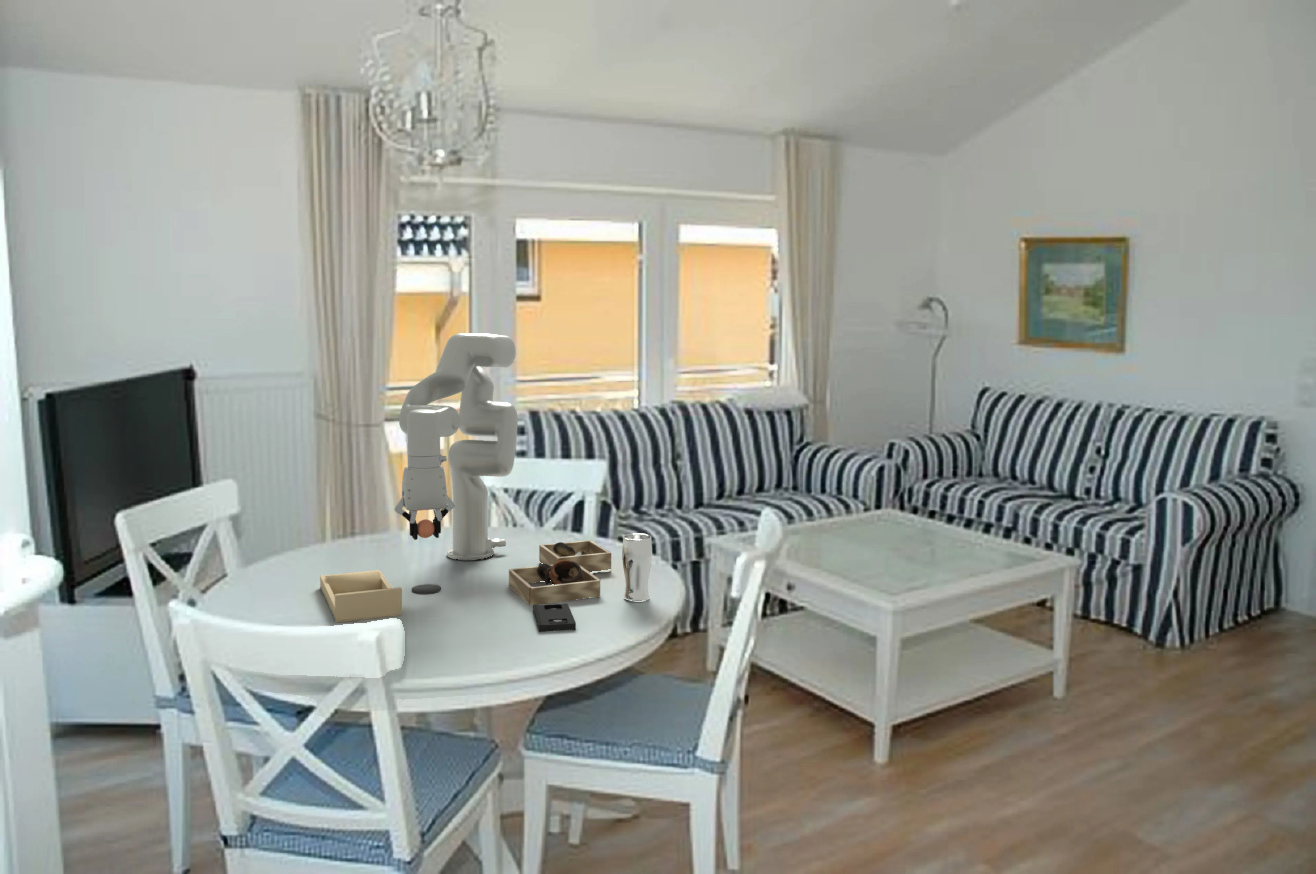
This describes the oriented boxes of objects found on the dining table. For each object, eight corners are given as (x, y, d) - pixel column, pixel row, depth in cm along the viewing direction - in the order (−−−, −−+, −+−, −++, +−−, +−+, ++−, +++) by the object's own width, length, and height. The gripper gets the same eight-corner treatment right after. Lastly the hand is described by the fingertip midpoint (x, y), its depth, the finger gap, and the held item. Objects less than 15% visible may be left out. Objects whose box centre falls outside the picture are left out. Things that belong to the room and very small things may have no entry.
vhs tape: (576, 632, 213) (576, 623, 213) (538, 634, 211) (538, 625, 211) (567, 611, 227) (567, 603, 227) (532, 613, 225) (532, 605, 225)
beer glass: (629, 604, 231) (630, 541, 229) (616, 596, 237) (617, 534, 235) (656, 601, 234) (657, 538, 232) (643, 593, 240) (644, 532, 238)
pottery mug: (586, 586, 247) (590, 562, 242) (573, 612, 240) (577, 588, 235) (540, 571, 249) (544, 547, 244) (526, 596, 241) (529, 572, 236)
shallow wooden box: (575, 577, 252) (575, 562, 252) (601, 597, 237) (601, 580, 236) (507, 585, 245) (507, 569, 244) (530, 605, 229) (530, 588, 229)
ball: (432, 534, 241) (432, 516, 240) (436, 539, 237) (436, 520, 236) (414, 536, 239) (413, 518, 238) (418, 540, 235) (417, 522, 234)
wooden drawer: (380, 597, 246) (379, 558, 245) (402, 632, 221) (401, 588, 220) (320, 603, 240) (319, 563, 239) (336, 640, 215) (335, 595, 214)
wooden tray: (590, 558, 272) (590, 540, 271) (611, 571, 258) (611, 552, 258) (539, 563, 265) (539, 544, 265) (557, 577, 252) (557, 558, 252)
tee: (437, 584, 244) (437, 582, 244) (444, 592, 238) (444, 590, 238) (408, 587, 241) (408, 586, 241) (414, 595, 235) (414, 593, 235)
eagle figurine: (585, 559, 266) (552, 552, 266) (588, 541, 261) (554, 534, 261) (580, 580, 260) (546, 574, 260) (583, 563, 256) (549, 555, 256)
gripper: (455, 457, 242) (456, 531, 245) (384, 461, 235) (386, 537, 238) (463, 462, 236) (464, 538, 238) (390, 466, 228) (392, 544, 231)
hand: (425, 536), depth 238 cm, fingers closed on ball, 4 cm apart
